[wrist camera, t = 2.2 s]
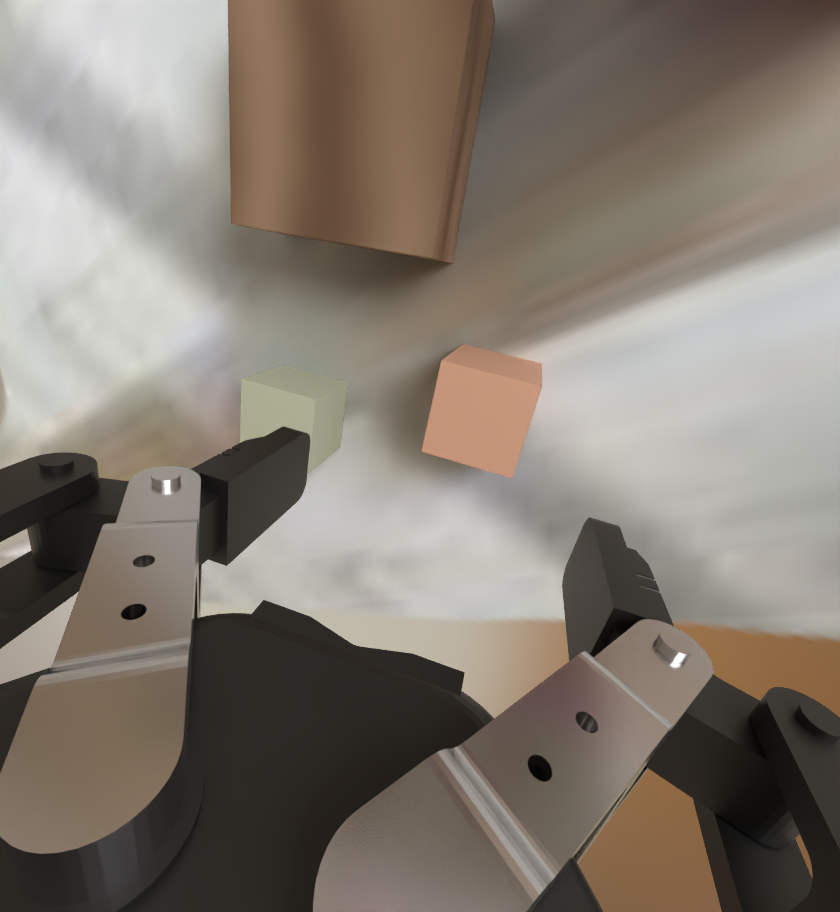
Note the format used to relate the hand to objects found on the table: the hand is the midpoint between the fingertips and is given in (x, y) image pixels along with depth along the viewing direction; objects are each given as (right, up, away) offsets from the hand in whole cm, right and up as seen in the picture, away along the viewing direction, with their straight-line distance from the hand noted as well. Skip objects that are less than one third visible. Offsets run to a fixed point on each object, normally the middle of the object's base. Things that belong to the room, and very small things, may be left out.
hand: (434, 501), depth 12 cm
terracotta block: (+4, +5, +13) cm, 14 cm away
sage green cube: (-7, +5, +16) cm, 18 cm away
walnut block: (-3, +17, +10) cm, 20 cm away
